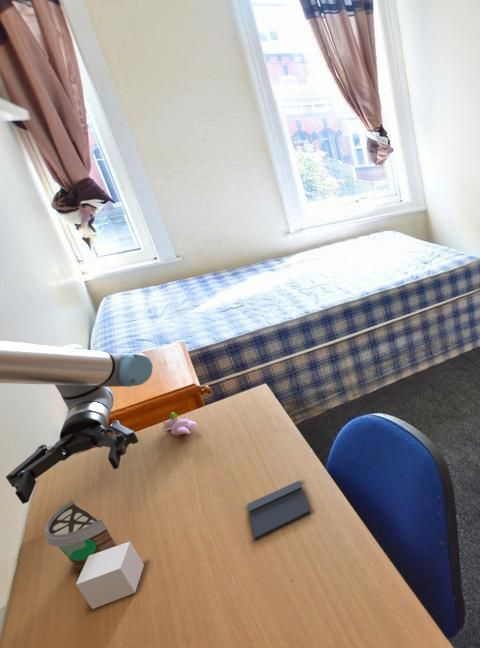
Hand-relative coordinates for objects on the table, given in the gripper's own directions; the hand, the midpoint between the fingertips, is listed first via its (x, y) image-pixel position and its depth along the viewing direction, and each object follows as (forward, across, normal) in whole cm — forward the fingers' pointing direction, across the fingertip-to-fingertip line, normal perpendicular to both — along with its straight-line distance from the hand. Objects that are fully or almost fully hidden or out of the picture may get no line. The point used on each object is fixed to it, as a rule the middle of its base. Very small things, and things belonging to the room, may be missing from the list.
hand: (69, 479), depth 89 cm
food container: (+10, 0, -12) cm, 16 cm away
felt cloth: (+20, -31, -12) cm, 39 cm away
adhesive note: (+20, -5, -12) cm, 24 cm away
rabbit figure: (-26, -15, -13) cm, 33 cm away
